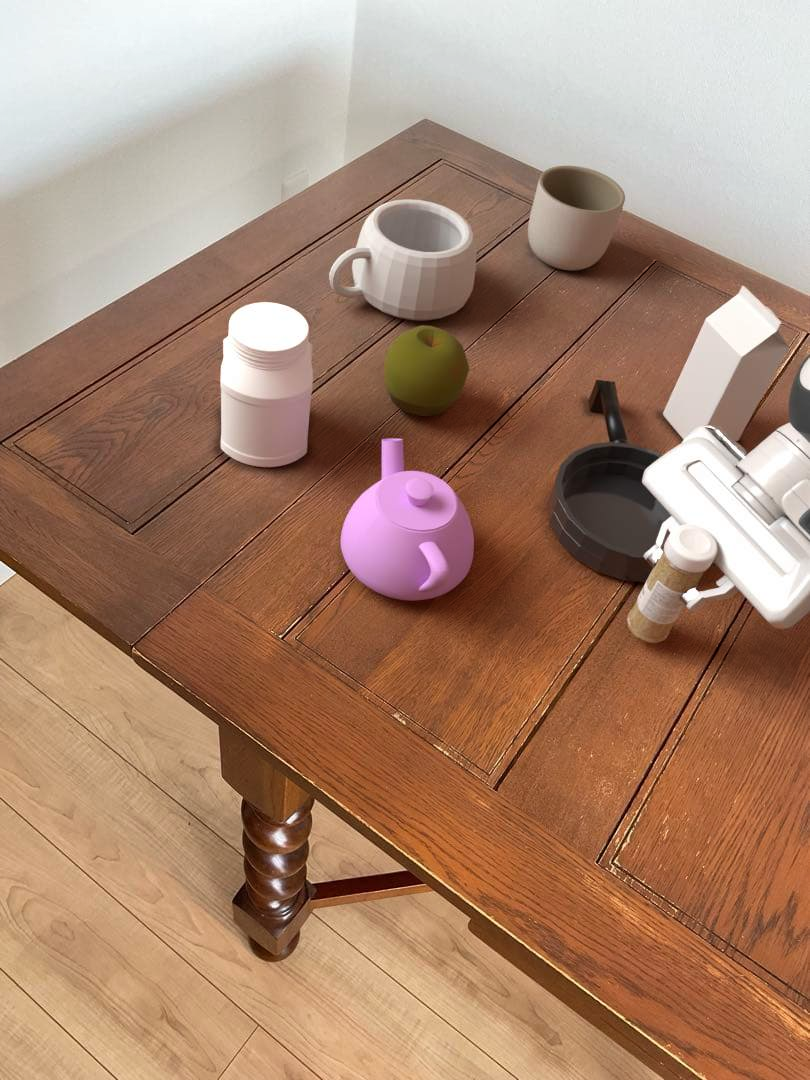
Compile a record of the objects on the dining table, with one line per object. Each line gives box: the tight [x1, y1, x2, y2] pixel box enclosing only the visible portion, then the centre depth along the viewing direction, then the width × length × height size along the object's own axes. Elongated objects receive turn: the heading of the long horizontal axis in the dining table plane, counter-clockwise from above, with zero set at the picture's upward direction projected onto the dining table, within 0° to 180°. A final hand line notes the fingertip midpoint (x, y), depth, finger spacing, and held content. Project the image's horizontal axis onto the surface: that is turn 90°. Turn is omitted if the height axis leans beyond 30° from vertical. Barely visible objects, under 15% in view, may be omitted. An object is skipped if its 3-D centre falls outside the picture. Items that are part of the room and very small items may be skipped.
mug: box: [328, 198, 477, 322], centre depth 129 cm, size 21×17×10 cm
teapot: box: [340, 438, 475, 602], centre depth 98 cm, size 14×20×11 cm
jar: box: [219, 301, 314, 468], centre depth 105 cm, size 12×10×15 cm
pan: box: [546, 441, 672, 583], centre depth 108 cm, size 17×17×4 cm
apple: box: [383, 325, 470, 417], centre depth 114 cm, size 10×10×11 cm
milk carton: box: [662, 285, 790, 445], centre depth 116 cm, size 7×7×19 cm
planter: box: [527, 165, 626, 271], centre depth 141 cm, size 12×12×11 cm
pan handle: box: [588, 379, 629, 444], centre depth 117 cm, size 2×13×5 cm, turn 0°
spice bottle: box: [626, 524, 718, 644], centre depth 94 cm, size 5×5×14 cm
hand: (667, 584), depth 93 cm, fingers closed on spice bottle, 4 cm apart
